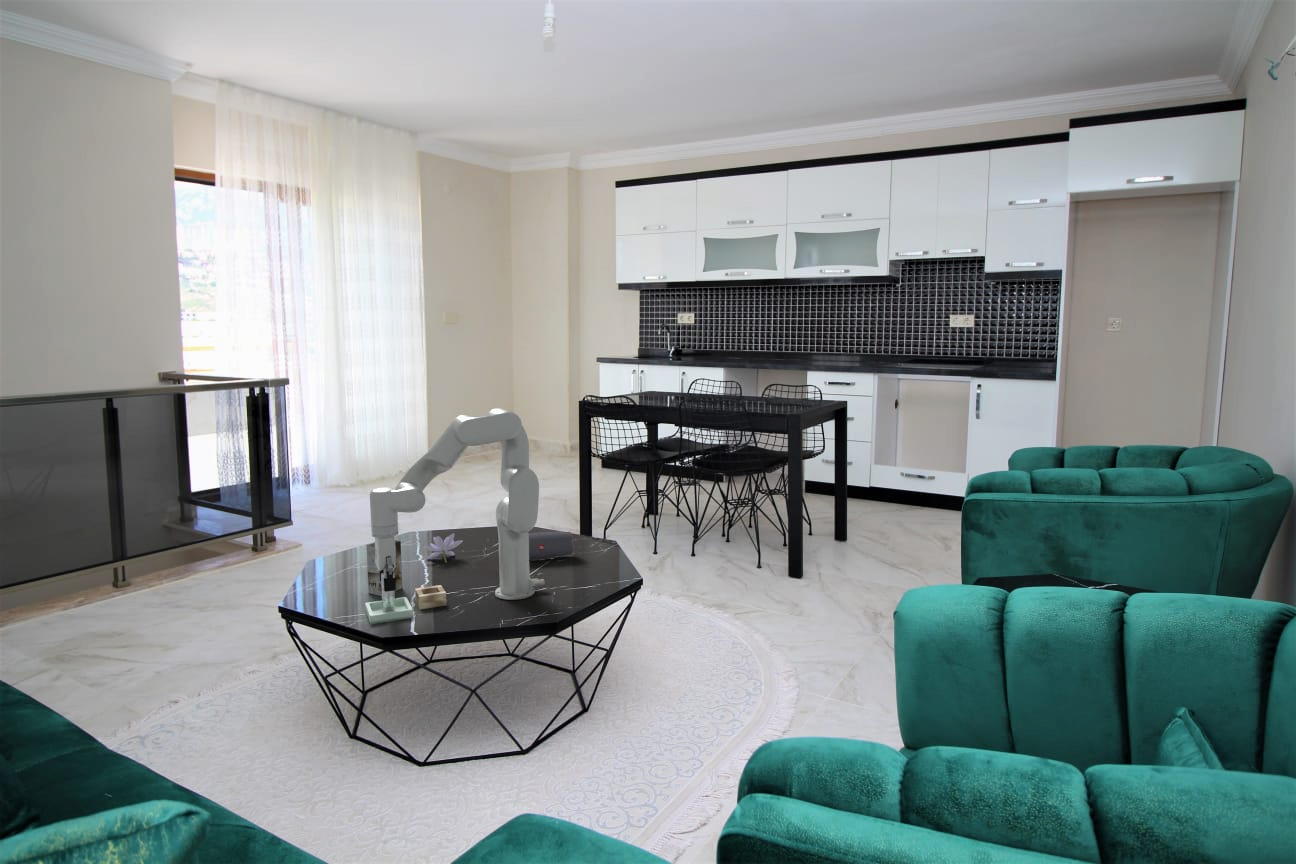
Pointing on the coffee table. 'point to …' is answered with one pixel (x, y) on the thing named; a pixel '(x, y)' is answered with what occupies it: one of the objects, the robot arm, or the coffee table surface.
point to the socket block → (430, 597)
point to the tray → (401, 612)
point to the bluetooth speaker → (549, 545)
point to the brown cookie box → (373, 571)
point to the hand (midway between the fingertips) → (387, 585)
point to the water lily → (442, 546)
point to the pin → (387, 598)
